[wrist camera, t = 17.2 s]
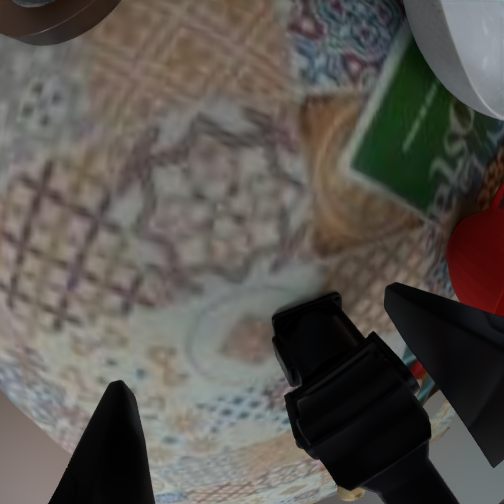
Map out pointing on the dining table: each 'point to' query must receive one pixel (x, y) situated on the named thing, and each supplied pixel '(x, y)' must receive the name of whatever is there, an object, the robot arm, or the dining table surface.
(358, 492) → the onion
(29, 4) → the grey stone chess piece
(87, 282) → the dining table surface
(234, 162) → the dining table surface
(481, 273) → the ceramic cup
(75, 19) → the walnut puck
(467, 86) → the cereal bowl
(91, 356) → the dining table surface
